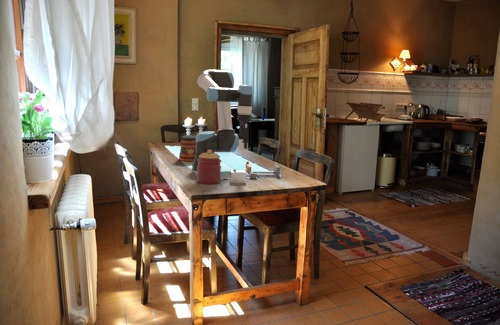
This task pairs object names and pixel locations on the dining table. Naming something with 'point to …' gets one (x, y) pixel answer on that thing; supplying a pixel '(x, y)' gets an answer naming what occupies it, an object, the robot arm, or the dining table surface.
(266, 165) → the dining table surface
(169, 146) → the dining table surface
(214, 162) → the canister
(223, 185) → the dining table surface
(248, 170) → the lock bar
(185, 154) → the beer stein
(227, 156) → the dining table surface
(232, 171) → the lock block
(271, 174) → the coupler rail
